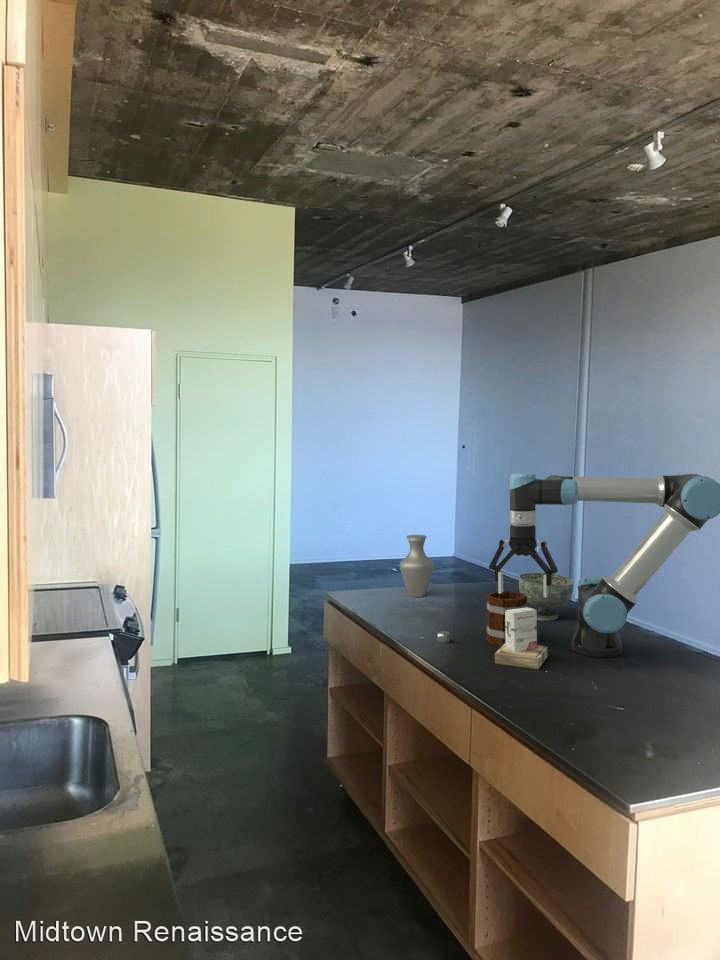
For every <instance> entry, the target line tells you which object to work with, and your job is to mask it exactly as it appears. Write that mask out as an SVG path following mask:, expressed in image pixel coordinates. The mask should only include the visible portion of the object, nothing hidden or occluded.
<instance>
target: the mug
mask: <svg viewBox="0 0 720 960" xmlns="http://www.w3.org/2000/svg"><path fill="white" fill-rule="evenodd" d="M485 598H486V612H485V620H486V634H485V640H486V641H487V643H489V644H492V645H496V646H500V647H502V646H503V645H504V644H505V643H506V633H505V610H512V609H519V608H526V607H527V603H528V602H527V596H526V595H524V594H523V593H520V592H518V591H512V590H507V591H506V590H503V592H502V593H501V594H500V593H498V590H497V591H492V592H489V593H486V594H485Z"/></svg>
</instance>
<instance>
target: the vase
mask: <svg viewBox="0 0 720 960" xmlns="http://www.w3.org/2000/svg"><path fill="white" fill-rule="evenodd" d="M427 537H428V536H427V535H425V534H410V535H407V536H406V539H407V541H408V544H409V552H408V554H407V555H406V556H405V557H404V558H402V559H401V560H400V561H399V569H400V570H399V571H400V573H401V577H402V580H403V583H404V587H405V588H406V591H407V594H408V597H412V598H422V597H425V596H426V594H427V591H428V589H429V587H430V584H431V579H432V577H433V574H434V570H435V563H434V561H433V559H431V558H430V557H428V556H427V555H426V553H425V550H424V545H425V541H426V538H427Z"/></svg>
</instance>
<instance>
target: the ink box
mask: <svg viewBox="0 0 720 960" xmlns="http://www.w3.org/2000/svg"><path fill="white" fill-rule="evenodd" d="M536 610H537V609H534V608H532V607H528V606H526V608H519V609H512V610H505V633H506V648H507V649H509V650H511V651H514V652H519V651H525V650H530V649H535V648H537V645H538V623H537V621H538V620H537V611H536Z"/></svg>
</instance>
